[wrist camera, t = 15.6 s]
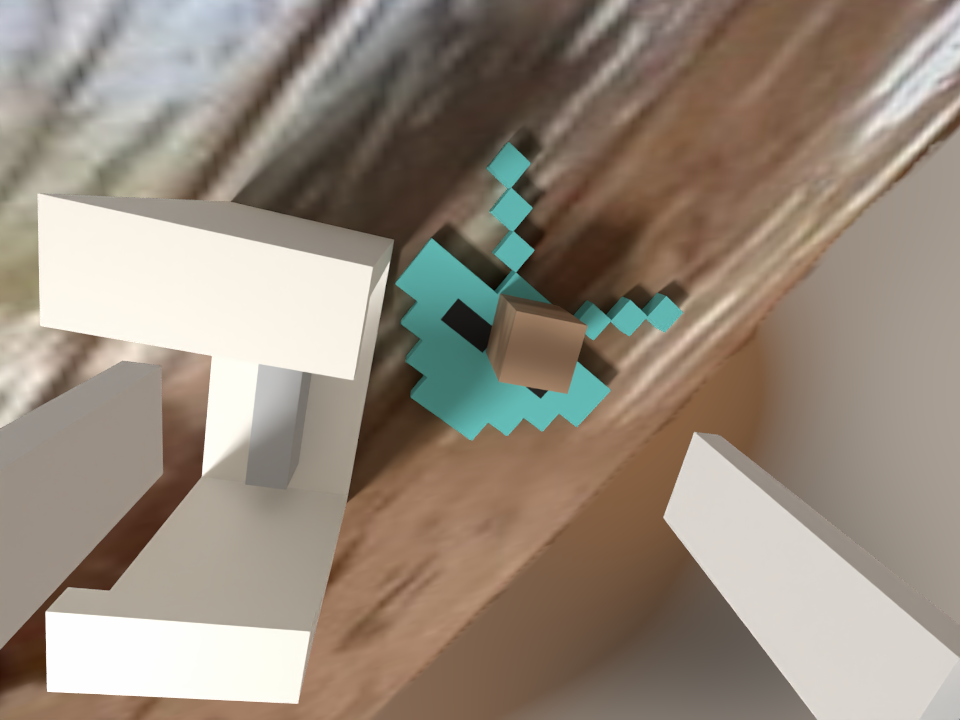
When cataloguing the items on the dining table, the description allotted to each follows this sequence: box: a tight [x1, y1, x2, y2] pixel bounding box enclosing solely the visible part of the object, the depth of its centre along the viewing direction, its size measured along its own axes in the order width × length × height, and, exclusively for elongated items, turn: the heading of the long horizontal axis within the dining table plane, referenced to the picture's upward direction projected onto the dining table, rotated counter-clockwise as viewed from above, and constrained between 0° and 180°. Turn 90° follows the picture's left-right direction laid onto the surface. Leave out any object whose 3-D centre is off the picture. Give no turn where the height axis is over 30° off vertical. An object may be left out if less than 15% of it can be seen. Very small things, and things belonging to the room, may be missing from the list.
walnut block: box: [486, 293, 587, 394], centre depth 35 cm, size 5×5×7 cm
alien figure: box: [395, 142, 683, 441], centre depth 40 cm, size 20×2×20 cm
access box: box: [38, 193, 394, 704], centre depth 30 cm, size 24×12×18 cm, turn 167°
